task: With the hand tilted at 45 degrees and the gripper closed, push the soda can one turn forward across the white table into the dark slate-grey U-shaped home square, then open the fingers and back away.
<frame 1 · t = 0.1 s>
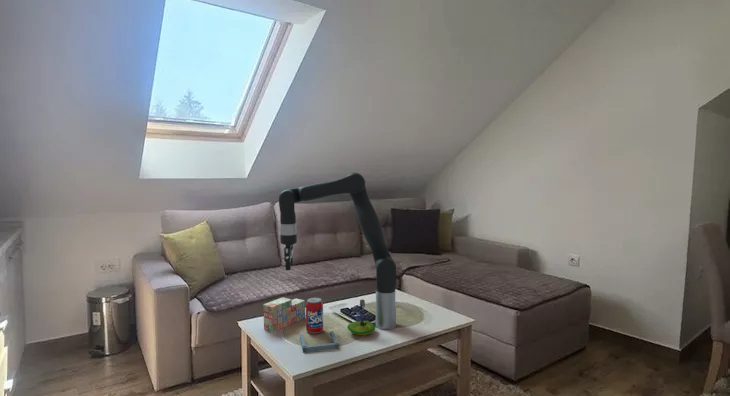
hand: (289, 267, 203), 29 cm above the table, tool pointing down, fingers open, 8 cm apart
soda can: (314, 331, 202), on the table
stack of blocks: (285, 324, 212), on the table
pirate figurine: (361, 333, 200), on the table
home square: (318, 343, 190), on the table
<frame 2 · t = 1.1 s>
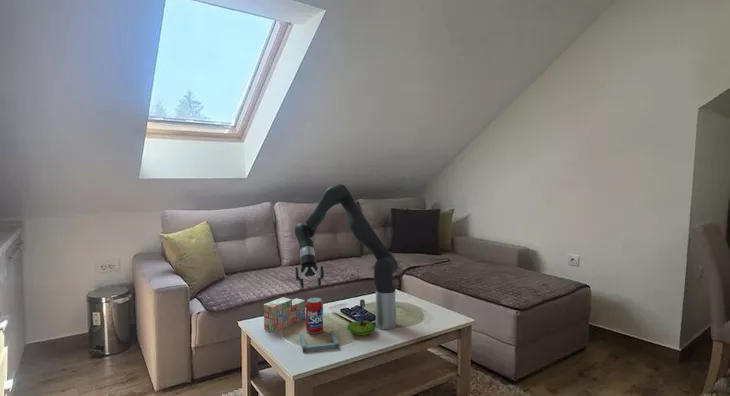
hand: (311, 286, 211), 18 cm above the table, tool tilted 45°, fingers open, 7 cm apart
nothing on the table moved.
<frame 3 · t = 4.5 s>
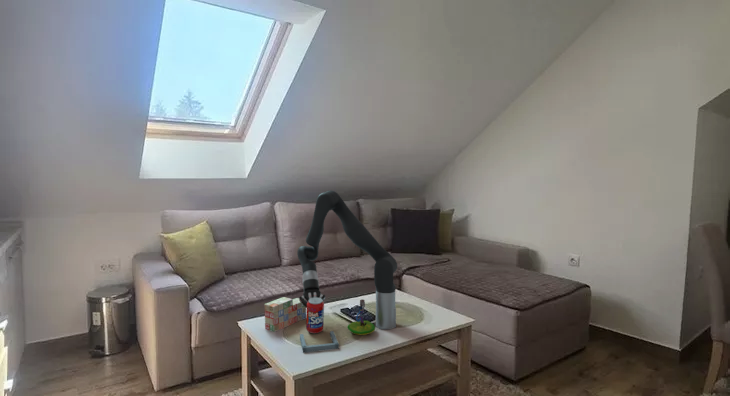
hand: (313, 315, 204), 7 cm above the table, tool tilted 45°, fingers closed
soda can: (314, 330, 202), on the table, touching gripper
everything else where it was.
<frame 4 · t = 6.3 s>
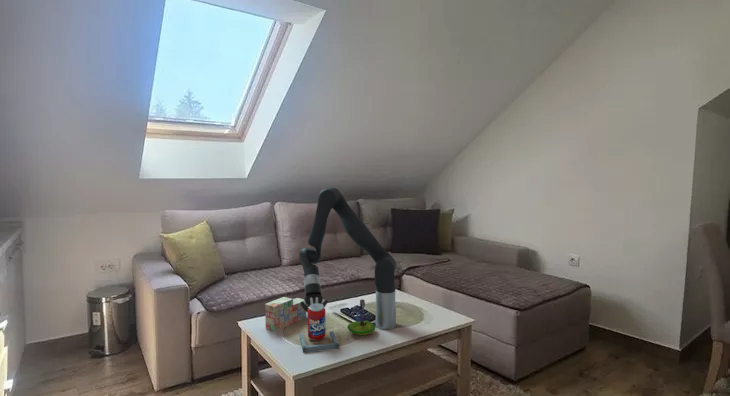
hand: (315, 321, 196), 7 cm above the table, tool tilted 45°, fingers closed
soda can: (316, 337, 195), on the table, touching gripper
everything else where it was.
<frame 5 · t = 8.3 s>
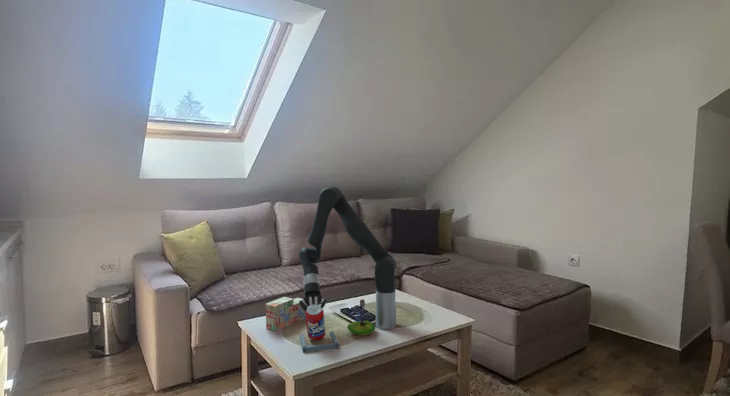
hand: (314, 320, 194), 8 cm above the table, tool tilted 45°, fingers closed
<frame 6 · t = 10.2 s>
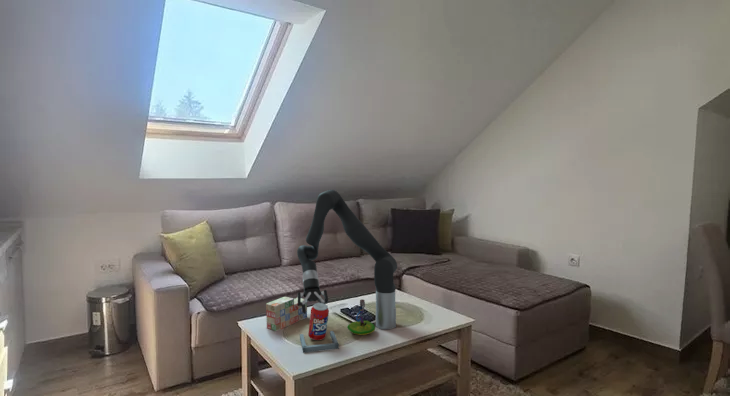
hand: (314, 312, 204), 8 cm above the table, tool tilted 45°, fingers open, 8 cm apart
soda can: (316, 337, 195), point 1 cm above the table
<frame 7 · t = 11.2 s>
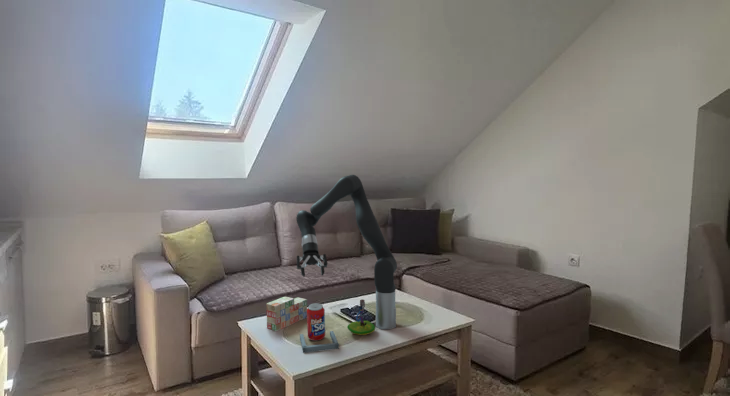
hand: (313, 275, 203), 26 cm above the table, tool tilted 45°, fingers open, 8 cm apart
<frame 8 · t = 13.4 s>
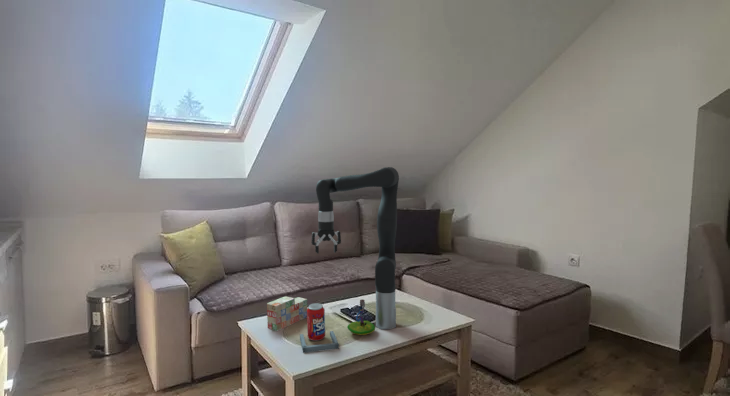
hand: (326, 252, 215), 33 cm above the table, tool pointing down, fingers open, 8 cm apart
at the end: soda can inside the target area on the home square (5.3 cm from its centre), point 0.1 cm above the home square's base; soda can tilted 5° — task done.
